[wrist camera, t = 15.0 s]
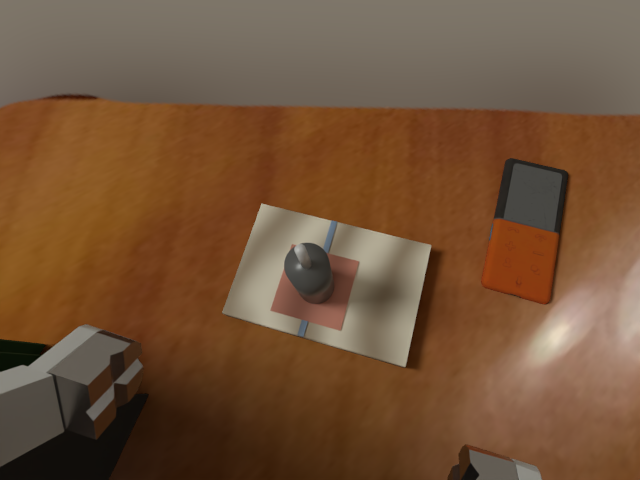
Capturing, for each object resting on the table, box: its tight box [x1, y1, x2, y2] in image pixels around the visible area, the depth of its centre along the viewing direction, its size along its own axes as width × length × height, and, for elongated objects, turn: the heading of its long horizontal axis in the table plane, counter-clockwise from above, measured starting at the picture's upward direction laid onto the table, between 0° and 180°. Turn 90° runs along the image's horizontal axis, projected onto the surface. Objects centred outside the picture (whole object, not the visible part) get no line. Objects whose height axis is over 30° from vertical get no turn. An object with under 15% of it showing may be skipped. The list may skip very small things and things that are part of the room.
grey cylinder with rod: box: [284, 243, 334, 304], centre depth 33 cm, size 4×4×12 cm
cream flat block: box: [222, 204, 431, 367], centre depth 40 cm, size 18×12×2 cm, turn 74°
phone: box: [481, 158, 568, 304], centre depth 41 cm, size 6×1×15 cm
